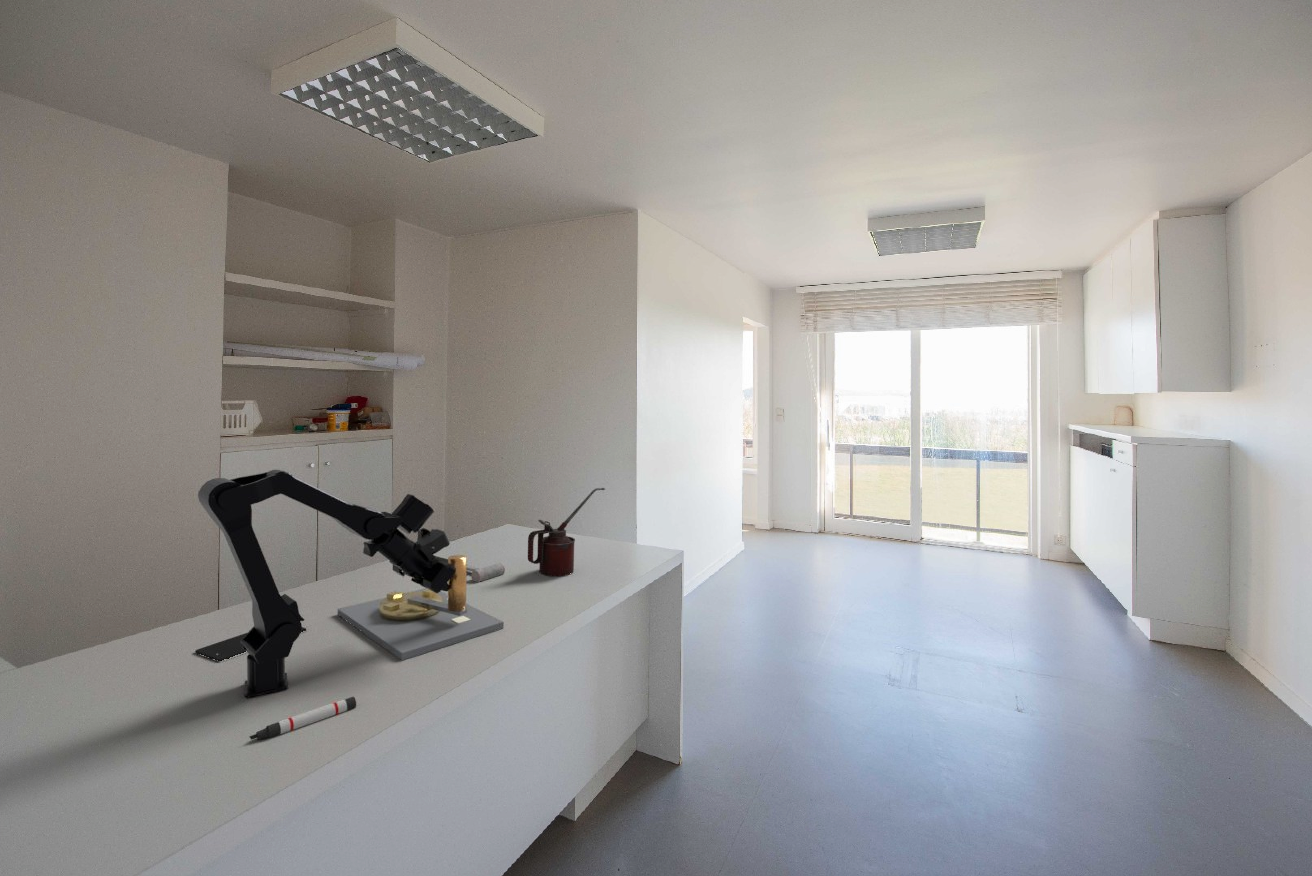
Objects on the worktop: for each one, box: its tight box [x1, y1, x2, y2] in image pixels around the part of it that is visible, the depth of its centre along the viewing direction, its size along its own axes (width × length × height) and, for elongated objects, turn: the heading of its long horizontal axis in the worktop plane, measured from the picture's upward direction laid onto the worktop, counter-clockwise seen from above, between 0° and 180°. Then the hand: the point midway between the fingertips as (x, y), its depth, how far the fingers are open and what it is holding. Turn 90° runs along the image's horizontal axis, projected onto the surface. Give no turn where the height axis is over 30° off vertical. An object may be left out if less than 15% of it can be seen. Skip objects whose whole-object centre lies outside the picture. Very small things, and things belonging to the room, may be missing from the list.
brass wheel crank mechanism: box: [379, 554, 468, 621], centre depth 139 cm, size 24×14×15 cm, turn 65°
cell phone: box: [195, 626, 307, 661], centre depth 125 cm, size 9×18×1 cm, turn 155°
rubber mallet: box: [434, 555, 506, 583], centre depth 180 cm, size 10×4×30 cm
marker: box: [248, 696, 357, 741], centre depth 95 cm, size 15×2×2 cm, turn 138°
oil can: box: [527, 487, 606, 577], centre depth 184 cm, size 28×11×25 cm, turn 134°
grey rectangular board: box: [337, 587, 505, 661], centre depth 139 cm, size 34×24×2 cm
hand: (447, 589), depth 133 cm, fingers closed, pressing on brass wheel crank mechanism
